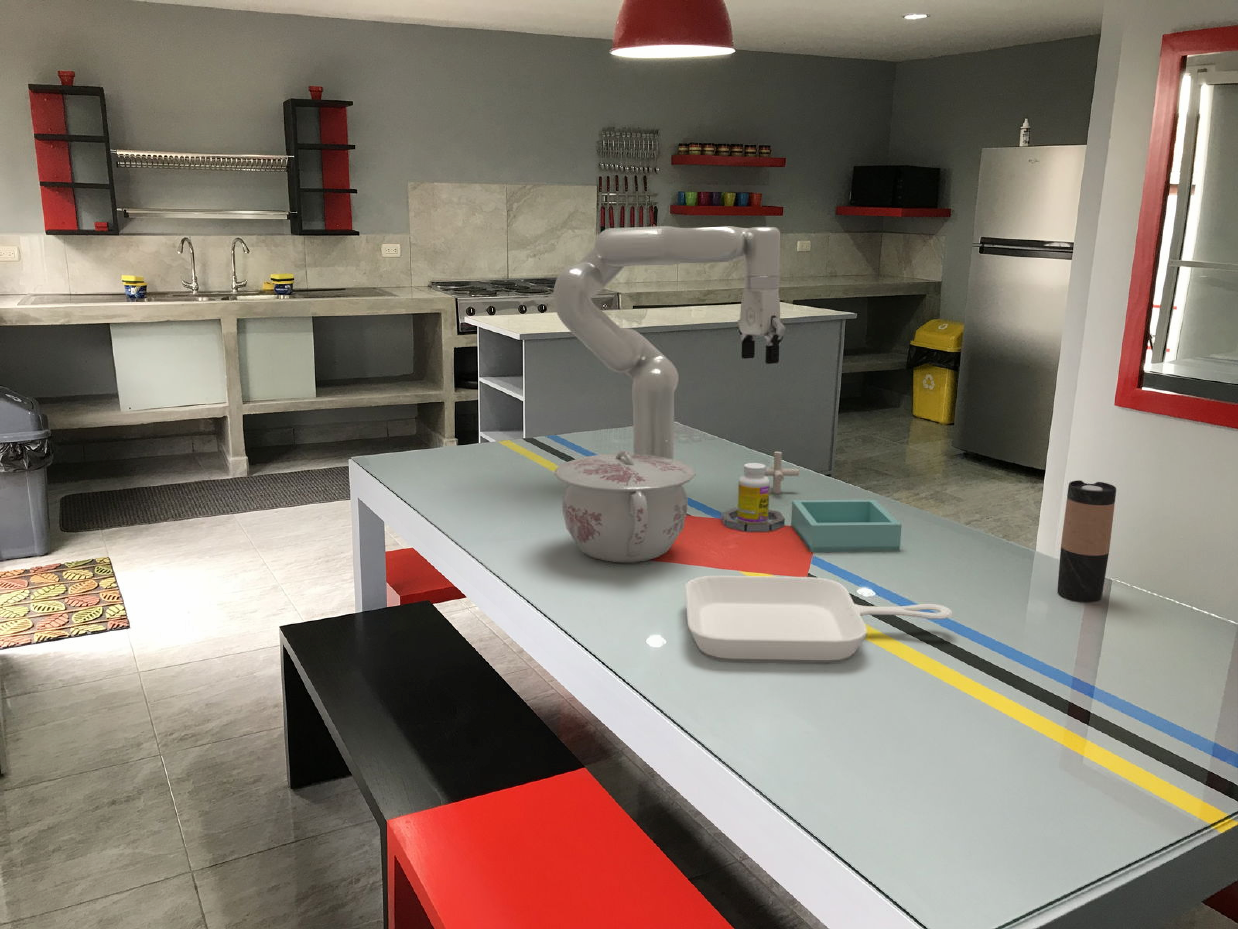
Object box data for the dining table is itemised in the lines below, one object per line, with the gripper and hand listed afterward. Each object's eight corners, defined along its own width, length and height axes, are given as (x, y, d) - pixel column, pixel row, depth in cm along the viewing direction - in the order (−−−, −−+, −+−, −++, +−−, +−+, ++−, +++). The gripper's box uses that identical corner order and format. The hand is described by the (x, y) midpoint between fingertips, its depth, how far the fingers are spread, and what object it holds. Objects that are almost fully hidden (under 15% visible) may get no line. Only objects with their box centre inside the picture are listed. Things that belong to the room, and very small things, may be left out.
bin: (810, 551, 198) (811, 525, 197) (791, 524, 216) (792, 500, 214) (899, 550, 199) (901, 524, 198) (873, 524, 216) (874, 499, 215)
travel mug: (1083, 606, 171) (1096, 493, 166) (1046, 591, 177) (1058, 483, 173) (1112, 598, 174) (1127, 488, 169) (1075, 584, 181) (1088, 478, 176)
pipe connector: (800, 498, 236) (802, 457, 234) (758, 498, 236) (759, 457, 234) (794, 487, 246) (795, 447, 243) (753, 487, 246) (754, 447, 244)
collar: (727, 532, 211) (727, 525, 210) (718, 514, 223) (718, 507, 223) (788, 531, 211) (788, 524, 211) (776, 513, 224) (776, 507, 224)
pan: (683, 599, 174) (683, 574, 173) (927, 603, 172) (929, 578, 171) (688, 667, 148) (689, 638, 147) (976, 672, 146) (979, 643, 145)
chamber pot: (600, 524, 216) (600, 430, 211) (716, 544, 203) (719, 445, 198) (526, 561, 192) (523, 456, 187) (651, 587, 179) (652, 475, 174)
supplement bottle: (760, 529, 213) (762, 470, 210) (732, 524, 216) (733, 466, 213) (772, 521, 218) (775, 464, 215) (745, 516, 222) (747, 460, 219)
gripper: (726, 282, 228) (725, 357, 232) (769, 286, 213) (767, 366, 217) (754, 281, 231) (752, 355, 235) (798, 285, 216) (796, 364, 220)
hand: (759, 360), depth 226 cm, fingers open, 9 cm apart
